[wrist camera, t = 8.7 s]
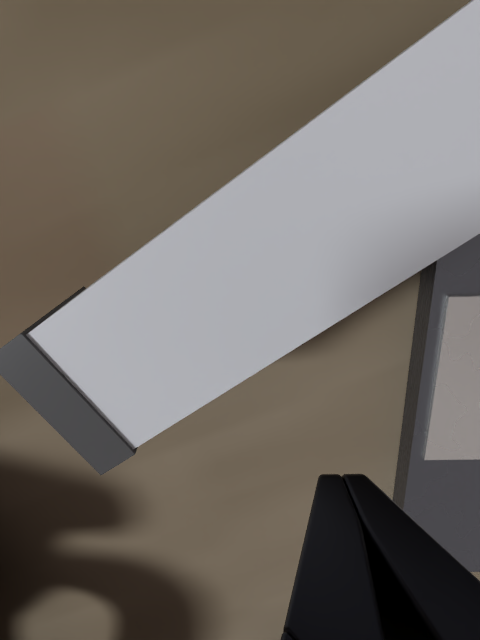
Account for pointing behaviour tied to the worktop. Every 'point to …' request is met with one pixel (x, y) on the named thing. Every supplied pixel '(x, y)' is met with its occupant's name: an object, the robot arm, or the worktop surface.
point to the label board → (445, 407)
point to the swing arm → (268, 255)
